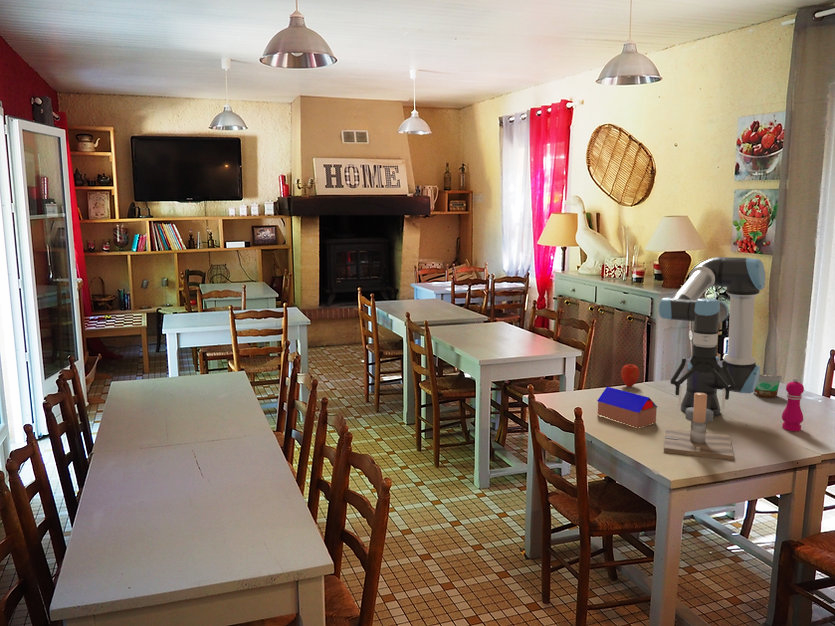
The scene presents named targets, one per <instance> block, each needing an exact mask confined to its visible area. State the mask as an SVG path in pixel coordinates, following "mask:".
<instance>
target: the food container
mask: <svg viewBox="0 0 835 626" xmlns="http://www.w3.org/2000/svg"><path fill="white" fill-rule="evenodd" d="M782 380H783V378H782V374H781V373H780V374H779V375H771V374H760V375H759V379H758V383H757V386H756V388H755V390H754V392H752V393H753V395H754V396H755V395H756V397H758V396H759V397H758V398H763V397H764V398H765V399H775V398H777V397H778V392H779V386H780V382H781V381H782Z"/></svg>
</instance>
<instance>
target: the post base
mask: <svg viewBox="0 0 835 626" xmlns="http://www.w3.org/2000/svg"><path fill="white" fill-rule="evenodd" d="M690 422H691V423H690V430H685V429H684V430H683V429H681V430H680V429H673V428H665V431H664V444H663V452H664V453H667V452H668V453H667V454H669V453H670V454H677V455H685V456H692V457H693V456H695V457H700V458H701V457H702V458H703V457H704V458H712V459H718V460H719V459H721V460H729V461H734V459H735V457H734V451H733V447H732V442H731V437H730V435H729V434H723V433H722V434H719V433H711V432H707V423H703V426H695V422H692V421H690Z"/></svg>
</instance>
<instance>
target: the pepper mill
mask: <svg viewBox="0 0 835 626" xmlns="http://www.w3.org/2000/svg"><path fill="white" fill-rule="evenodd" d="M785 390H786V398H787V401H786V402H787V403H786V406H785V408H784V409H783V411H782V414H781V419H782V420H783V423H782V429H784V430H786V431H790V432H800V431H802V423H803V421H804V414H803V411H802V409H801V400H802V399H803V398H802V397H803V396H802V394H803V393H804V392H805V387H804V385H803V383H801V382H800V381H799V379H798V377H794V378H793V379H792V381H790V382H788V383H787V384H786V386H785Z"/></svg>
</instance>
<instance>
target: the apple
mask: <svg viewBox="0 0 835 626" xmlns="http://www.w3.org/2000/svg"><path fill="white" fill-rule="evenodd" d="M620 376H621V380H622V381H623V383H624V385H625V386H626V387H627V386H628V387H627V388H631V387H633V386H634V385H635V384H636V383H637V381H638V379H639V378H640V369H639V367H638V366H637V365H636V364H632V363H631V364H630V363H629V364H628V363H627V364H625V365H624V366H623V367H622V368H621V370H620Z"/></svg>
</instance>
